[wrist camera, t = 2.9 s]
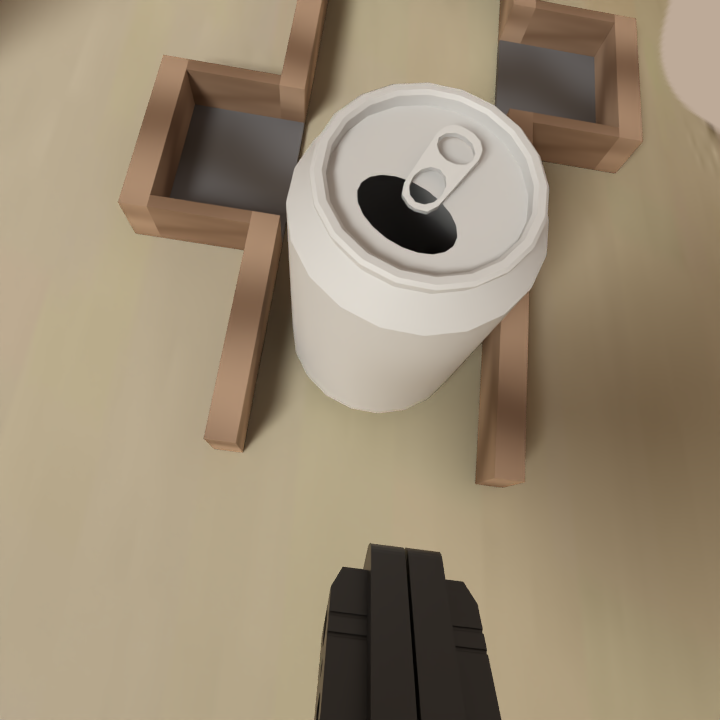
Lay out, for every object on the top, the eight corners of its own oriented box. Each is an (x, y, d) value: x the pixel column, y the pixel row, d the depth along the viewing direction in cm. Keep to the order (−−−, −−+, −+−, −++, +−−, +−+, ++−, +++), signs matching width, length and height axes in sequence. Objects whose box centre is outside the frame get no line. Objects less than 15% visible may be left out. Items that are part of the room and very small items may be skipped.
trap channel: (627, 504, 24) (728, 494, 18) (78, 430, 22) (1, 394, 17) (607, -57, 35) (666, -173, 29) (240, -128, 34) (226, -264, 28)
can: (258, 350, 24) (219, 186, 13) (358, 236, 27) (398, 12, 15) (394, 451, 23) (478, 373, 12) (484, 325, 26) (627, 159, 14)
